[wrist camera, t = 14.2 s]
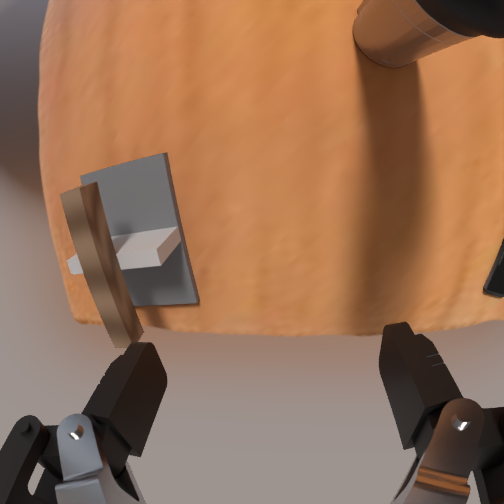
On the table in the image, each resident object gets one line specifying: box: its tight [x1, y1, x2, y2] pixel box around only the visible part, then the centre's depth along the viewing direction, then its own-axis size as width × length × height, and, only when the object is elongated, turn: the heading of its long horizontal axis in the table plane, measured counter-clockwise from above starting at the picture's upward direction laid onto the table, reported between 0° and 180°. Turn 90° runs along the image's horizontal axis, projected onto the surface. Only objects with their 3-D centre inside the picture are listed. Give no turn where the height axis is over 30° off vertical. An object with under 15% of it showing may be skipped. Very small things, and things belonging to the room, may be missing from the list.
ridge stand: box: [67, 152, 199, 306], centre depth 37 cm, size 22×14×10 cm, turn 8°
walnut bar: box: [60, 182, 144, 348], centre depth 31 cm, size 20×3×4 cm, turn 8°
